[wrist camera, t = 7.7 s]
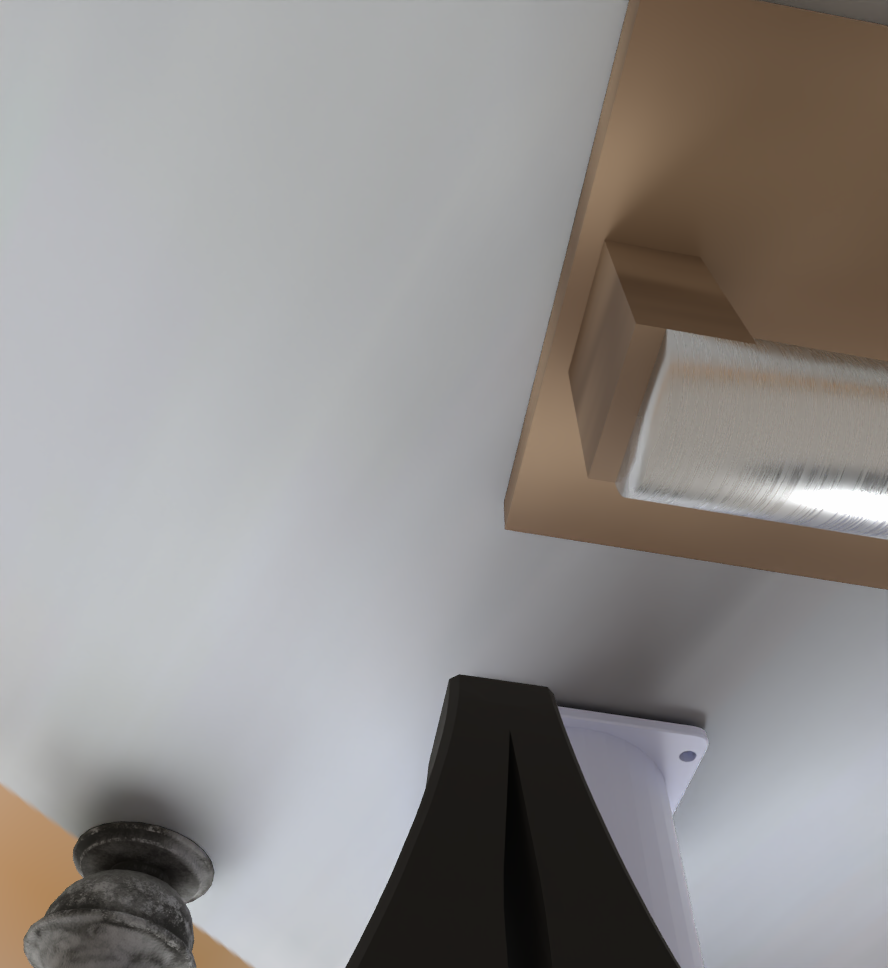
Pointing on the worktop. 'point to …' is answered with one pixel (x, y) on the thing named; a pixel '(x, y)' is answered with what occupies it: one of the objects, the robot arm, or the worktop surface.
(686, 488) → the pipe stand
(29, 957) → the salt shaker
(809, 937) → the worktop surface
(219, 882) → the worktop surface
